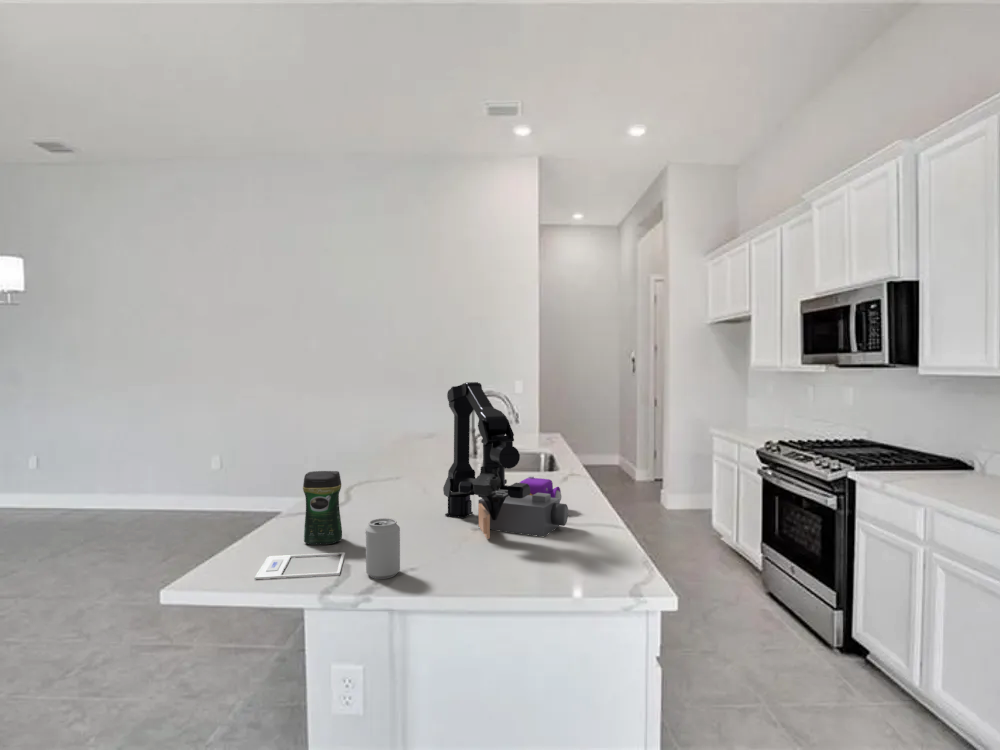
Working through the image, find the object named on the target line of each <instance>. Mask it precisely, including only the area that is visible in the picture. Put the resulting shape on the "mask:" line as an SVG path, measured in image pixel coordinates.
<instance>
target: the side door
mask: <svg viewBox="0 0 1000 750" xmlns="http://www.w3.org/2000/svg"><path fill="white" fill-rule="evenodd" d="M479 527H480V528H479V529H480V531H481V532H482V534H483V535H484V536H485V538H486V540H489V539H490V538H491V536H490V535H491V530H490V514H489V513H488V511H487V510H486V509H485V507H484V506H483V505H482V504H481V503H479Z"/></svg>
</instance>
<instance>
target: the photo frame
mask: <svg viewBox="0 0 1000 750" xmlns="http://www.w3.org/2000/svg"><path fill="white" fill-rule="evenodd" d="M339 555H340V559H339V563H338V566H337V570H336V571H332V572H313V573H312V572H311V573H295V574H292V573H291V574H284V572H285V570H286V568H287V566H288V564H289V562H290V561H291V559H294V557H299V558H315V557H316V556H318V557H333V556H336V557H337V556H339ZM345 555H346V552H328V553H305V554H288V555H283V554H282V555H268V556H267V557H266V559H265V560H264V561H263V563H262V565H261V567H260V568H259V570H258V571H257V573H256V574H255V576H254V577H253V578H254V581H256V579H263V580H271V579H270V578H281V579H287V578H286V577H299V578H311V577H312V576H316V577H327V576H328V577H329V576H331V577H333V576H340V574H341V570H342V567H343V563H344V560H345V557H346V556H345ZM292 557H293V558H292ZM290 558H291V559H290ZM286 565H287V566H286ZM284 569H285V570H284ZM283 571H284V572H283ZM282 573H283V574H282ZM284 577H285V578H284ZM312 578H313V577H312Z"/></svg>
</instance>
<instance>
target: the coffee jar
mask: <svg viewBox="0 0 1000 750" xmlns="http://www.w3.org/2000/svg"><path fill="white" fill-rule="evenodd" d="M302 485H303V486H302V490H303V491H302V492H303V493H304V495H305V517H304V528H303V529H304V530H303V541H304V543H305V544H306V545H314V546H315V545H317V546H319V545H321V546H322V545H330V544H335V543H337V542H340V541H341V540H342V538H343V527H342V519H341V512H340V492H341V489H342V479H341V474H340V471H338V470H318V471H317V470H315V471H309V472H307V473H306V474H304V479H303V484H302Z"/></svg>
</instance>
